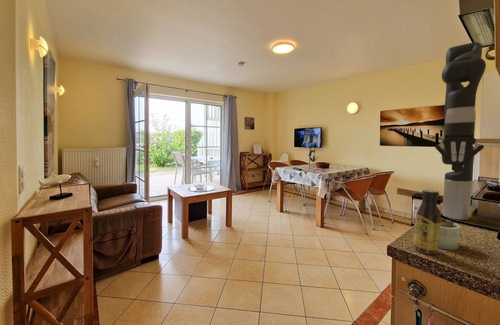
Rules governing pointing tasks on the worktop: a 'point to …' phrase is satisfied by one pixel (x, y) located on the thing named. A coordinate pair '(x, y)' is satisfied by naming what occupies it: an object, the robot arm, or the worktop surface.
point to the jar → (449, 237)
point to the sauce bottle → (428, 223)
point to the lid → (446, 223)
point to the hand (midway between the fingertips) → (456, 172)
